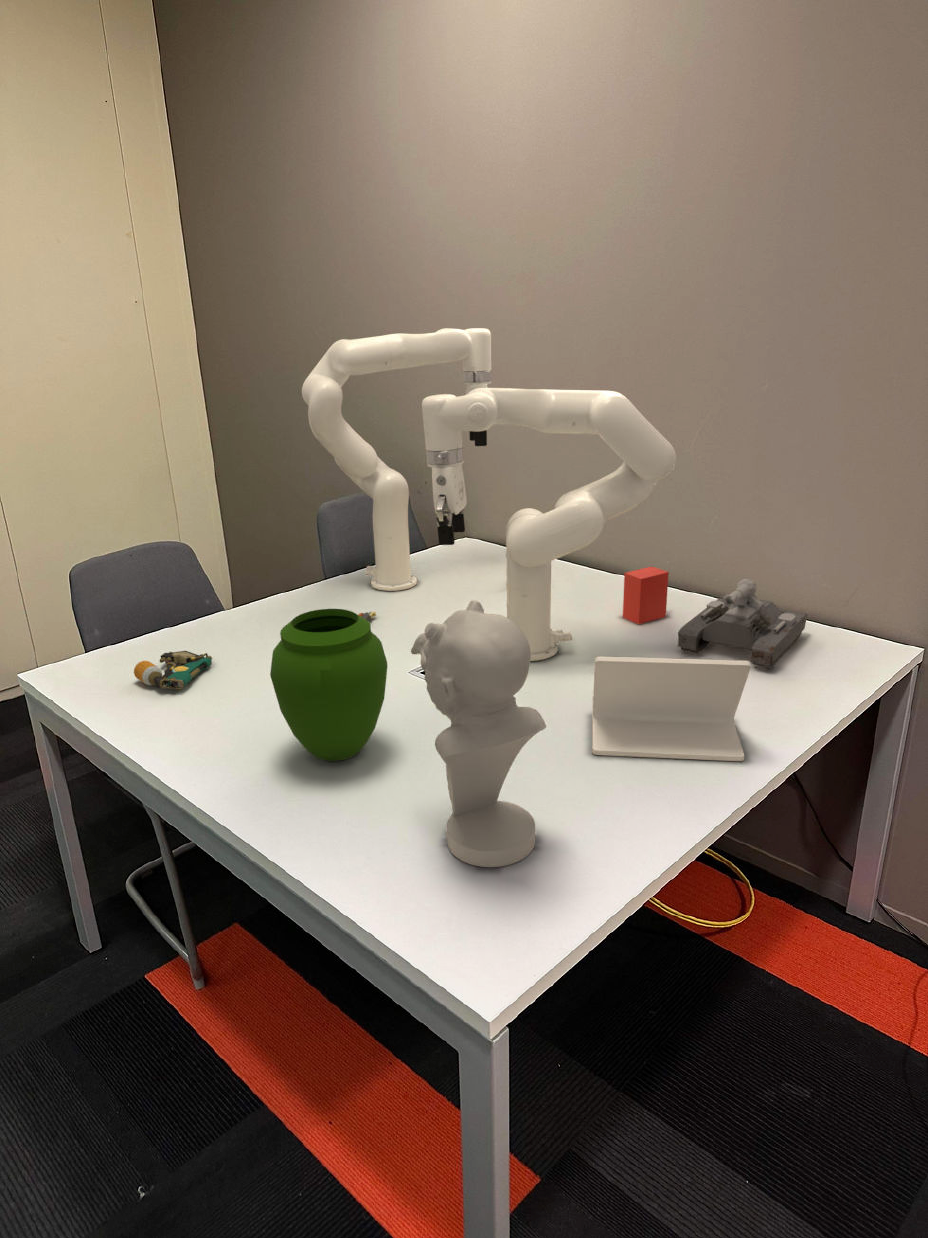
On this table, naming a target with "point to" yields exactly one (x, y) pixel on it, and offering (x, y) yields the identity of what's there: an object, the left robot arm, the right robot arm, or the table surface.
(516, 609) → the right robot arm
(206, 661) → the spray gun
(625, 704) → the tablet stand
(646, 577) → the block
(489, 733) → the bust sculpture
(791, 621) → the toy
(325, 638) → the vase
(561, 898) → the table surface
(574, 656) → the table surface
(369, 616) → the toy gun
